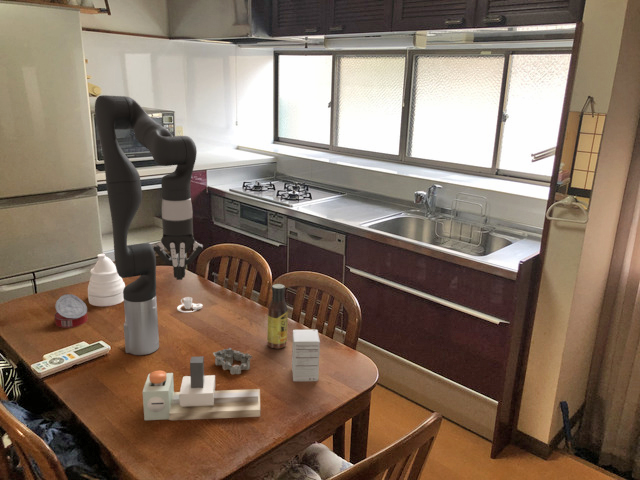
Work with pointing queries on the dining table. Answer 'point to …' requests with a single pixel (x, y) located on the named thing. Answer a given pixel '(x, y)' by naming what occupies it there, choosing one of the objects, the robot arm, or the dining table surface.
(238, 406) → the rail board
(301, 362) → the supplement box
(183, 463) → the dining table surface
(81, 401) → the dining table surface
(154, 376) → the plunger
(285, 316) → the sauce bottle
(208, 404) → the carriage
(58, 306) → the canned food
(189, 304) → the teacup and saucer
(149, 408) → the cabinet
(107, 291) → the honey pot
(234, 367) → the grey jagged ring
